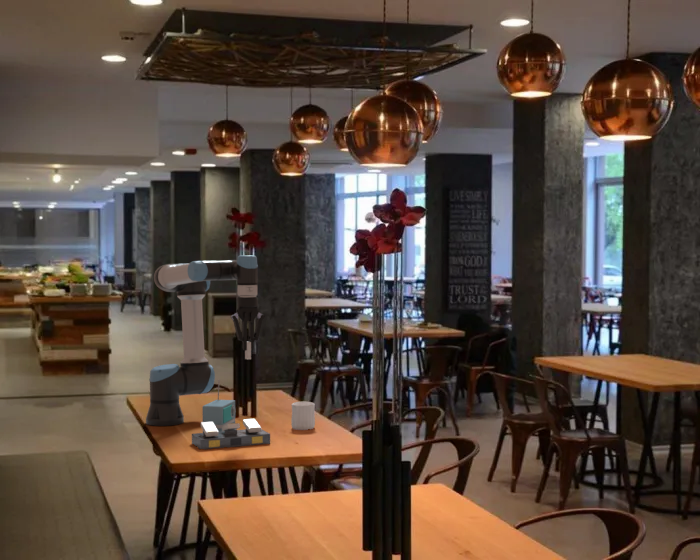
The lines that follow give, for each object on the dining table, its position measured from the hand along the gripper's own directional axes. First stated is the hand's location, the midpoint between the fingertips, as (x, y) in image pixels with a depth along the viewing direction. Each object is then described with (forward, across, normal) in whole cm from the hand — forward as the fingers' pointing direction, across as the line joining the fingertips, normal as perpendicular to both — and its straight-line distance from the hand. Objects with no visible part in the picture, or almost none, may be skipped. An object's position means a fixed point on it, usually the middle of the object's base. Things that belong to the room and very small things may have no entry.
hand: (248, 358), depth 379 cm
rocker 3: (+23, -2, -10) cm, 26 cm away
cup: (+30, +25, +8) cm, 40 cm away
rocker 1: (+23, -18, -10) cm, 31 cm away
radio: (+30, -8, +10) cm, 32 cm away
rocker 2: (+23, -10, -10) cm, 27 cm away
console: (+29, -10, -10) cm, 33 cm away
